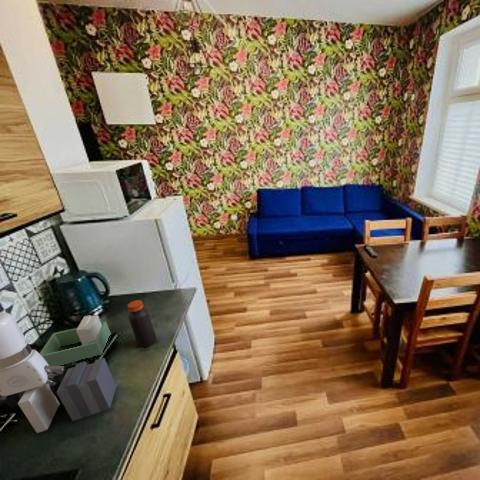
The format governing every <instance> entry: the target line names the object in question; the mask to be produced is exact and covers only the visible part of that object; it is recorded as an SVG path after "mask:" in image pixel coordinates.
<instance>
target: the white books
mask: <svg viewBox="0 0 480 480" xmlns="http://www.w3.org/2000/svg"><path fill="white" fill-rule="evenodd" d="M101 322H102V321H101V319H100V317H99V315H98V314H96V315H89V314H88V315H85V316H83V318H82V320H81V321H80V322H79V325H78V326H77V327H76V328H77V330H76V332H77V334H78V336H79V338H80V340H81V343H82V345H85V344H89V343H93V342H95V340H96V338H97V336H98V334H99V331H100V329H101V327H102V324H101Z"/></svg>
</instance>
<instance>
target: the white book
mask: <svg viewBox="0 0 480 480" xmlns="http://www.w3.org/2000/svg"><path fill="white" fill-rule="evenodd" d="M56 396H57V395H56ZM56 396H55V395H54V394H53V393H52V391H51V389H50V385H49V384H44V385H42V386H39V387H36V388H33V389H29V390H26V391H24V393H23V395H22V396H21V397H20V401H19V402H18V404H17V406H19V408H20V409H21V411H22V412H23V414H24V415H25V417H26V419H27V420H28V422H29V424H31V426H32V428H33V429H34V431H35V432H36V434H38V433H39V434H40V433H42V432H45V431H48V429H49V427H50V425H51V423H52V421H53V419H54V417H55V415H56V413H57V410H58V408H59V406H60V402H59V400H58V398H57V397H56Z"/></svg>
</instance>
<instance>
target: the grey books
mask: <svg viewBox="0 0 480 480" xmlns="http://www.w3.org/2000/svg"><path fill="white" fill-rule="evenodd" d="M94 360H95V361H94V362H93V363H90V364H89V363H87V361H83V362H80V363H76V364H75V366H73V367H70V368H68V369H67V370H66V373H65V374H64V377H63V378H62V381H60V383H61V384H60V386H59V388H58V390H57V394H58V395H57V396H58V397H59V398H58V399H60V401H61V403H62V405H63V407H64V408H65V409H64V410H66V413H67V414H68V416H69V418H70V419H71V421H72V422H75V421H78V420H80V419H84V418H87V417H90V416H94V415H97V414H99V413H103V412H106V411H108V410H110V409H111V407H112V403H113V399H114V396H115V392H116V389H117V384H116V382H115V379H114V377H113V375H112V372H111V370H110V368H109V365H108V363H107V361H106V358H105V357H101V358H97V359H94Z"/></svg>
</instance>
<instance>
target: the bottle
mask: <svg viewBox="0 0 480 480" xmlns="http://www.w3.org/2000/svg"><path fill="white" fill-rule="evenodd" d="M127 309H128V312H129V314H128V316H127V317H128V321H129V324H130V326H131V330H132V333H133V337H134V339H135V341H136V344H137V346H138V348H141V349H147V348H150V347H152V346H153V345H154V344H155V343H156V342H157V339H158V338H157V335H156V332H155V329H154V325H153V322H152V319H151V316H150V313H149V310H148V309H147V308H144V303H143V301H142V300H140V299H136V300H133V301H130V302H129V303H128V304H127Z"/></svg>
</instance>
